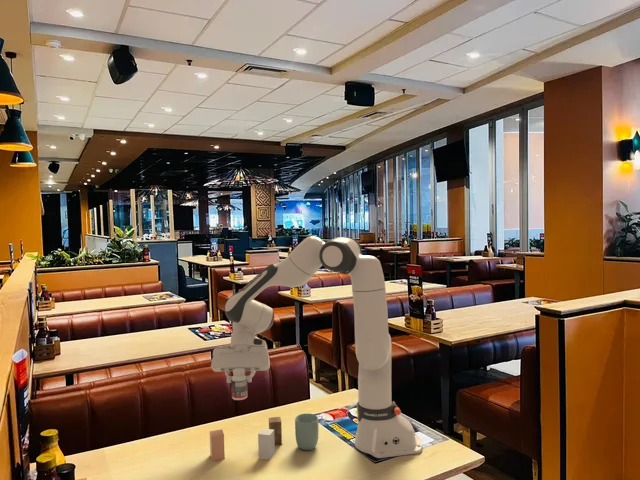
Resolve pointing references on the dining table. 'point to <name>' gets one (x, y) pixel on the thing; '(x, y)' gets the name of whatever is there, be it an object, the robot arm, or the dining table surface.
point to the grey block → (266, 444)
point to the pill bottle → (239, 384)
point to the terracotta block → (217, 445)
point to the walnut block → (276, 429)
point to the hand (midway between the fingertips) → (238, 381)
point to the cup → (306, 431)
